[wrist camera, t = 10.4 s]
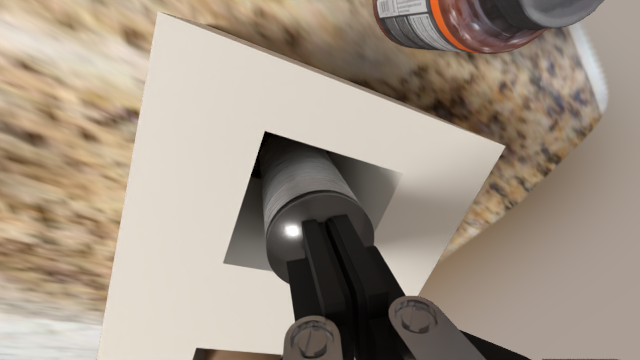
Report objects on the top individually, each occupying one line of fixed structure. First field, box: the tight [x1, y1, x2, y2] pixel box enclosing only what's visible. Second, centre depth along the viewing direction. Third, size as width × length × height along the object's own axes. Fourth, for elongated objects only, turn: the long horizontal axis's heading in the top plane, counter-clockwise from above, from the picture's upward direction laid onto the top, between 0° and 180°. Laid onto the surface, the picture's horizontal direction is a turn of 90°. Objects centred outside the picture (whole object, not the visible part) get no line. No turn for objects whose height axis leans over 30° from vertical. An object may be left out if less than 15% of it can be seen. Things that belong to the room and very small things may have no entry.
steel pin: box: [260, 134, 374, 284], centre depth 15 cm, size 4×4×9 cm
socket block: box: [97, 12, 505, 360], centre depth 20 cm, size 22×14×10 cm, turn 159°
